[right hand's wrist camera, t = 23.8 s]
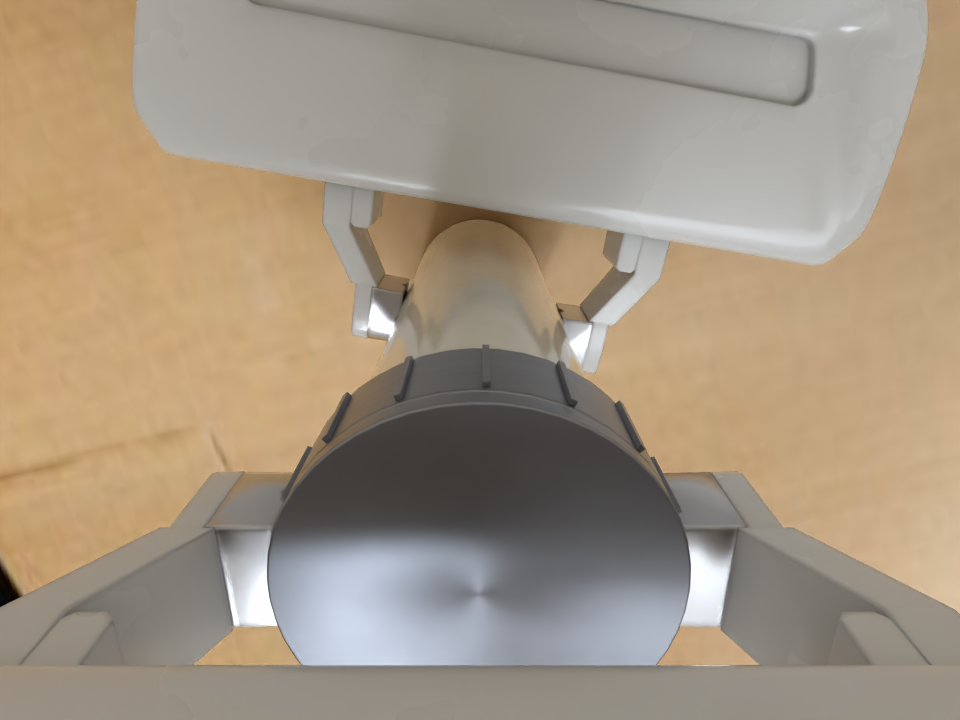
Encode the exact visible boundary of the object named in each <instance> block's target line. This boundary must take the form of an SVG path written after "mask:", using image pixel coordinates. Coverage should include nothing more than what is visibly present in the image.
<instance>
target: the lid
mask: <svg viewBox="0 0 960 720" xmlns="http://www.w3.org/2000/svg"><path fill="white" fill-rule="evenodd" d="M280 501H281V502H284V504H283V505H282V507H281V510H280V512H279V515H278V517H277V520H276V522H275V525H274V527H273V530H272V534H271V539H270V544H269V548H268V553H267V574H266V576H267V584H268V593H269V600H270V603H271V607H272V610H273V614H274V618H275V621H276V623H277V625H278V627H279V629H280V632H281V634H282V636H283V638H284V640H285V642H286V644H287V645H288V647H289V648H290V650H291V651H292V653H293V654H294V656H295V658H296V659H297V660H298V661H299V663H300V664H301V665H657V664H658V662H659V661H660V660H661V658H662V657H663V656H664V654H665V653H666V652H667V650H668V649H669V647H670V645H671V643H672V641H673V639H674V638H675V636H676V634H677V632H678V630H679V627H680V625H681V622H682V619H683V617H684V614H685V611H686V607H687V602H688V597H689V592H690V584H691V559H690V552H689V544H688V540H687V536H686V533H685V530H684V527H683V523H682V520H681V518H680V516H679V514H678V513H681V512H682V511H681V508H680V505H679V503H678V501H677V500H676V498H675V496H674V494H673V492H672V490H671V488H670V486H669V484H668V482H667V480H666V478H665V476H664V475H663V473H662V471H661V469H660V467H659V465H658V463H657V461H656V459H655V457H651V458H650V456H649V454H648V452H647V450H646V448H645V446H644V444H643V442H642V440H641V438H640V436H639V434H638V432H637V430H636V428H635V426H634V424H633V422H632V420H631V419H630V417H629V415H628V413H627V411H626V409H625V407H624V405H623V404H622V403H621V401H618V402H617V403H615V402H614V401H613V400H612V399H611V398H610V397H609V396H608V395H607V394H605V393H604V392H603V391H602V390H600V389H599V388H598V387H597V386H595V385H594V384H593V383H592V382H590V381H589V380H587V379H585V378H584V377H582V376H580V375H579V374H577V373H575V372H573V371H572V370H570V369H568V368H566V365H565V362H562V361H560V360H558V362H557V364H556V363H554V362H552V361H549V360H547V359H543V358H540V357H536V356H533V355H529V354H526V353H522V352H515V351H509V350H503V349H490V348H489V345H484V344H483V345H482V348H467V349H456V350H447V351H442V352H437V353H433V354H428V355H424V356H421V357H418V358H415V359H413V357H412V356H408V357H406V358H405V360H404V363H401V364H398V365H396V366H395V367H393V368H391V369H389V370H387V371H385V372H383V373H381V374H379V375H377V376H376V377H374V378H373V379H371V380H370V381H368V382H367V383H365V384H364V385H363V386H361V387H360V388H358V389H357V390H356V391H355V392H354V393H353V394H352V395H350V394H349V393H348V392H347V393H346V394H345V395H343V397H342V399H341V401H340V403H339V405H338V407H337V409H336V411H335V413H334V414H333V415H332V416H331V417H330V419H329V420H328V421H327V423H326V425H325V426H324V428H323V430H322V431H321V433H320V435H319V436H318V438H317V440H316V442H315V444H314V446H313V448H311V447H309V446H308V447H307V449H306V451H305V452H304V454H303V456H302V458H301V460H300V462H299V464H298V465H297V467H296V469H295V471H294V473H293V475H292V477H291V479H290V480H289V482H288V484H287V486H286V488H285V490H284V492H283V494H282V495H281V498H280Z"/></svg>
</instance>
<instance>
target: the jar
mask: <svg viewBox="0 0 960 720" xmlns="http://www.w3.org/2000/svg"><path fill="white" fill-rule="evenodd" d="M483 344H484V345H489V348H490V349H503V350H509V351H515V352H522V353H526V354H529V355H533V356H536V357H540V358H543V359H547V360H549V361H552V362H554V363H556V364H557V362H558V360H560V361H562V362H565V365H566V368H568V369H570V370H572V371H573V372H575V373H577V374H579V375H580V376H582V377H584V378H585V379H587V378H586V376H585V374H584V371H583V369H582V367H581V364H580V362H579V359H578V357H577V355H576V352H575V350H574V348H573V345H572V343H571V340H570V338H569V336H568V333H567V331H566V329H565V326H564V324H563V321H562V319H561V317H560V314H559V312H558V310H557V307H556V305H555V302H554V300H553V298H552V295H551V293H550V291H549V288H548V286H547V283H546V281H545V279H544V276H543V274H542V272H541V269H540V267H539V264H538V262H537V260H536V257H535V255H534V253H533V251H532V249H531V248H530V246H529V245H528V243H527V242H526V241H525V240H524V239H523V238H522V237H521V236H520V235H519V234H518V233H517V232H515V231H514V230H512V229H511V228H509V227H507V226H505V225H503V224H501V223H498V222H495V221H490V220H479V219H478V220H468V221H463V222H460V223H457V224H454V225H452V226H450V227H449V228H447V229H445V230H444V231H442V232H441V233H440V234H439V235H438V236H436V237H435V238H434V239H433V241H432V242H431V243H430V244H429V246H428V247H427V249H426V251H425V253H424V255H423V257H422V259H421V262H420V264H419V266H418V269H417V271H416V274H415V276H414V278H413V281H412V283H411V285H410V288H409V290H408V293H407V295H406V297H405V300H404V302H403V304H402V307H401V309H400V312H399V314H398V316H397V319H396V321H395V323H394V326H393V328H392V331H391V333H390V335H389V338H388V340H387V342H386V345H385V347H384V350H383V352H382V354H381V357H380V359H379V361H378V364H377V366H376V369H375V371H374V373H373V376H372V378H371V379H373V378H374V377H376V376H377V375H379V374H381V373H383V372H385V371H387V370H389V369H391V368H393V367H395V366H396V365H398V364H401V363H404V360H405V358H406V357H408V356H412V357H413V359H415V358H418V357H421V356H424V355H428V354H433V353H437V352H442V351H447V350H456V349H467V348H482V345H483Z"/></svg>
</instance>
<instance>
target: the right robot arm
mask: <svg viewBox="0 0 960 720" xmlns="http://www.w3.org/2000/svg"><path fill="white" fill-rule="evenodd" d="M292 475H293V473H281V472H244V471H237V472H216V473H212V474H211V475H210V476H209V478H208V479H207V480H206V481H205V483H204V484H203V485H202V487H201V488H200V489H199V490H198V492H197V493H196V494H195V496H194V497H193V498H192V499H191V501H190V502H189V503H188V504H187V506H186V507H185V508H184V510H183V511H182V512H181V513H180V515H179V516H178V517H177V519H176V520H175V521H174V522H173V524H172V525H171V526H170V527H169V528H158V529H156V530H154V531H152V532H150V533H148V534H146V535H144V536H142V537H140V538H138V539H136V540H134V541H132V542H130V543H128V544H126V545H124V546H122V547H120V548H118V549H116V550H114V551H112V552H110V553H108V554H106V555H104V556H102V557H100V558H98V559H96V560H94V561H92V562H90V563H88V564H86V565H84V566H82V567H80V568H78V569H76V570H74V571H72V572H70V573H68V574H66V575H64V576H62V577H60V578H58V579H56V580H54V581H52V582H50V583H48V584H46V585H44V586H42V587H40V588H38V589H36V590H34V591H32V592H30V593H28V594H26V595H24V596H22V597H20V598H18V599H16V600H14V601H12V602H10V603H8V604H6V605H4V606H2V607H0V720H960V614H959V613H958V612H957V611H956V610H955V609H953V608H951V607H949V606H947V605H945V604H943V603H941V602H939V601H937V600H935V599H933V598H931V597H929V596H927V595H925V594H923V593H921V592H919V591H917V590H915V589H913V588H911V587H909V586H907V585H905V584H903V583H901V582H899V581H897V580H895V579H893V578H891V577H889V576H887V575H885V574H883V573H881V572H879V571H878V570H876V569H874V568H872V567H870V566H868V565H866V564H864V563H862V562H860V561H858V560H856V559H854V558H852V557H850V556H848V555H846V554H844V553H842V552H840V551H838V550H836V549H834V548H832V547H830V546H828V545H826V544H824V543H822V542H820V541H818V540H816V539H814V538H812V537H810V536H808V535H806V534H804V533H802V532H801V531H799V530H797V529H795V528H783V526H782V525H781V524H780V522H779V521H778V520H777V518H776V517H775V516H774V515H773V513H772V512H771V511H770V509H769V508H768V507H767V505H766V504H765V503H764V502H763V500H762V499H761V498H760V496H759V495H758V494H757V492H756V491H755V490H754V489H753V487H752V486H751V485H750V483H749V482H748V481H747V479H746V478H745V477H744V476H743V474H741V473H739V472H737V471H728V472H698V473H663V475H664V476H665V478H666V480H667V482H668V484H669V486H670V488H671V490H672V492H673V494H674V496H675V498H676V500H677V501H678V503H679V505H680V508H681V511H682V512H681V513H678V514H679V516H680V518H681V520H682V523H683V527H684V530H685V533H686V536H687V540H688V544H689V552H690V559H691V584H690V592H689V597H688V602H687V607H686V611H685V614H684V617H683V619H682V622H681V625H680V626H697V627H721V630H722V631H723V632H724V633H725V634H726V635H727V636H728V637H729V638H730V639H732V640H733V641H734V642H735V643H736V644H737V645H738V646H739V647H741V648H742V649H743V650H744V651H745V652H746V653H747V654H748V655H750V656H751V657H752V658H753V659H754V660H755V661H756V662H757V663H758V664H760V665H194V664H195V663H196V662H197V661H198V660H199V659H200V658H202V657H203V656H204V655H205V654H206V653H207V652H208V651H210V650H211V649H212V648H213V647H214V646H215V645H216V644H217V643H219V642H220V641H221V640H222V639H223V638H224V637H225V636H227V635H228V634H229V633H230V632H231V631H232V630H233V628H232V627H255V626H278V625H277V623H276V621H275V618H274V614H273V610H272V607H271V603H270V600H269V593H268V584H267V576H266V574H267V553H268V548H269V544H270V539H271V534H272V530H273V527H274V525H275V522H276V520H277V517H278V515H279V512H280V510H281V507H282V505H283V504H284V502H281V501H280V498H281V495H282V494H283V492H284V490H285V488H286V486H287V484H288V482H289V480H290V479H291V477H292Z"/></svg>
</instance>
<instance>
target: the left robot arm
mask: <svg viewBox="0 0 960 720" xmlns="http://www.w3.org/2000/svg"><path fill="white" fill-rule="evenodd" d="M928 24H929V17H928V5H927V0H136V11H135V22H134V40H133V65H132V97H133V103H134V108H135V111H136V113H137V115H138V116H139V118H140V119H141V121H142V122H143V124H144V125H145V127H146V128H147V130H148V131H149V133H150V134H151V136H152V137H153V139H154V140H155V142H156V143H157V144H158V145H159V147H160V148H161V149H162V150H163V151H164V152H166V153H168V154H170V155H174V156H179V157H185V158H191V159H196V160H202V161H208V162H214V163H220V164H225V165H231V166H237V167H243V168H249V169H254V170H260V171H266V172H272V173H278V174H283V175H289V176H295V177H301V178H307V179H312V180H318V181H324V182H325V192H324V206H323V219H322V222H323V225H324V227H325V229H326V231H327V233H328V235H329V237H330V239H331V241H332V243H333V245H334V248H335V250H336V252H337V254H338V256H339V258H340V260H341V262H342V264H343V266H344V268H345V271H346V273H347V275H348V277H349V279H350V281H351V283H353V284H356V286H355V296H354V307H353V317H352V328H351V330H352V336H357V337H362V338H366V339H367V338H371V339H378V340H385V341H387V340H388V338H389V335H390V333H391V331H392V328H393V326H394V323H395V321H396V319H397V316H398V314H399V312H400V309H401V307H402V304H403V302H404V300H405V297H406V295H407V293H408V287H409V279H407V278H402V277H397V276H391V275H386V274H385V271H384V268H383V266H382V264H381V261H380V259H379V256H378V254H377V251H376V249H375V247H374V244H373V242H372V239H371V237H370V234H369V232H368V229H367V228H368V227H369V226H370V225H371V224H373V223H374V222H375V221H376V220H377V219H378V218H379V217H380V216H381V214H382V205H383V197H384V192H388V193H394V194H399V195H405V196H411V197H417V198H423V199H428V200H434V201H440V202H446V203H452V204H457V205H463V206H469V207H475V208H481V209H486V210H492V211H498V212H504V213H510V214H515V215H521V216H527V217H533V218H539V219H544V220H550V221H556V222H562V223H568V224H573V225H579V226H585V227H591V228H597V229H602V230H608V231H607V235H606V240H605V244H604V249H603V255H604V256H605V258H606V259H607V260H608V261H609V262H610V263H611V264H612V265H613V266H614V267H613V268H612V269H611V270H610V271H609V272H608V273H607V275H606V276H605V277H604V278H603V279H602V280H601V281H600V283H599V284H598V285H597V286H596V287H595V288H594V289H593V291H592V292H591V293H590V294H589V295H588V296H587V297H586V299H585V300H584V301H583V302H582V303H581V304H580V306H574V305H567V304H560V303H556V307H557V310H558V312H559V314H560V317H561V319H562V321H563V324H564V326H565V329H566V331H567V333H568V336H569V338H570V340H571V343H572V345H573V348H574V350H575V352H576V355H577V357H578V359H579V362H580V364H581V367H582V369H583V371H584V372H585V373H591V374H594V373H595V372H596V370H597V368H598V366H599V362H600V358H601V354H602V351H603V347H604V343H605V339H606V335H607V331H608V327H609V325H611V326H613V325H614V324H615V323H616V322H617V321H618V320H619V319H620V318H621V317H622V316H623V315H624V314H625V313H626V312H627V311H628V310H629V309H630V308H631V307H632V306H633V305H634V304H635V303H636V302H637V301H638V300H639V299H640V298H641V297H642V296H643V295H644V294H645V293H646V292H647V291H648V290H649V289H650V288H651V287H652V286H653V285H654V284H655V283H656V282H657V281H658V280H659V279H660V276H661V272H662V269H663V265H664V262H665V258H666V255H667V251H668V248H669V244H670V241H672V242H678V243H684V244H689V245H695V246H701V247H707V248H713V249H718V250H724V251H730V252H736V253H742V254H747V255H753V256H759V257H765V258H771V259H777V260H782V261H788V262H794V263H800V264H806V265H812V266H818V265H823V264H825V263H826V262H828V261H829V260H831V259H832V258H834V257H835V256H836V255H838V254H839V253H840V252H841V251H843V250H844V249H845V248H847V247H848V246H849V245H850V244H851V243H853V242H854V241H855V240H856V239H858V238H859V237H860V235H861V234H862V233H863V232H864V230H865V228H866V226H867V225H868V223H869V221H870V219H871V217H872V214H873V212H874V210H875V208H876V205H877V203H878V201H879V198H880V195H881V193H882V190H883V187H884V185H885V182H886V180H887V177H888V174H889V172H890V169H891V166H892V163H893V160H894V157H895V154H896V151H897V148H898V146H899V143H900V140H901V136H902V133H903V130H904V127H905V124H906V121H907V118H908V115H909V111H910V108H911V105H912V101H913V98H914V94H915V91H916V87H917V84H918V80H919V76H920V72H921V68H922V64H923V60H924V55H925V50H926V45H927V37H928Z"/></svg>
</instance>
